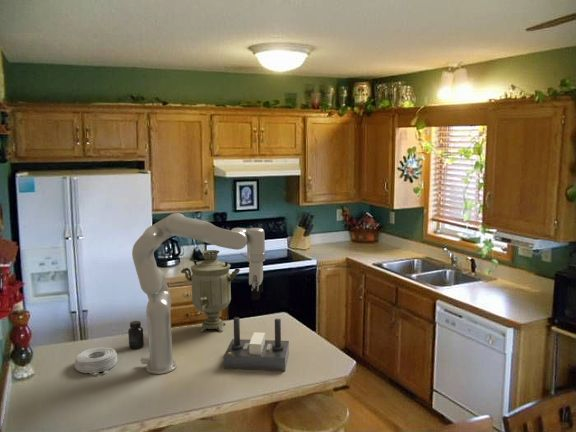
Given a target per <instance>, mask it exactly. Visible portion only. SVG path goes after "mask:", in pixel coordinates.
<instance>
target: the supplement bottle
mask: <svg viewBox="0 0 576 432" xmlns="http://www.w3.org/2000/svg"><path fill="white" fill-rule="evenodd" d="M127 335H128V347H129V349H130V350H140V349H142V348H144V346H145V337H144V335H145V334H144V328H143V327H142V323H141V321H140V320H133V321H131V322H129V328H128V330H127Z"/></svg>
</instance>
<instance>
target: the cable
mask: <svg viewBox="0 0 576 432" xmlns="http://www.w3.org/2000/svg"><path fill="white" fill-rule="evenodd" d="M117 362H118V354H117V351H116V349H114V348H110V347H107V346H106V347H101V346H100V347H99V346H98V347H93V348H87V349H86V350H83V351H82V352H80V353H78V354H77V355H76V357H75V361H74V365H73V366H74V368H75V369H76V371H78V372H80V373H83V374H87V373H90V374H89V375H91V374H92V376H96V375H97V376H98V375H100V373H101V372H102V376H104V375H105V374H107V373H108V372H109V371H110V370H109V369H112V368H113V367H114V366H116V364H117ZM108 370H109V371H108Z"/></svg>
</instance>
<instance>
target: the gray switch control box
mask: <svg viewBox="0 0 576 432" xmlns="http://www.w3.org/2000/svg"><path fill="white" fill-rule="evenodd" d="M250 341H251V339H241V338H240V343H242V344H243V348H242V349H238V350H235V349H232V344H233V343H234V338H232V339H231V341H230V342H229V345H228V347H227V349H226V351H225V353H224V354H223V367H224V368H223V370H243V371H245V370H247V371H271V372H272V371H273V372H276V371H277V372H285V371H286V369H287V364H288V361H289V355H290V341H289V340H281V344H282V345H283V350H281V351H275V350H273V349H272V346H273V345H274V344H275V339H274V340H270V339H268V340H267V339H265V348H264V351H263V354H262V355H252V354H249V343H250Z"/></svg>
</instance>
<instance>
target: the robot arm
mask: <svg viewBox="0 0 576 432" xmlns="http://www.w3.org/2000/svg"><path fill="white" fill-rule="evenodd" d="M174 236H175V237H180V238H182V239H183V238H185V239H189V240H195V241H199V242H203V243H206V244H210V245H214V246H217V247H220V248H225V249H229V250H230V249H231V250H237V251H238V250H243V249H244V248H246V249H247V250H246V251H247V252H246V255H247V257H246V258H247V261H246V262H248V263H249V264H248V285H249V286H251V300H253V301H255V300H256V301H257V300H260V293H261V294H262V293H263V291H264V289H263V280H264V263H263V262H265V261H266V248H265V247H266V246H265V244H266V242H265V230H264V229H263V228H261V227H250V228H244V227H233V228H232V229H231V230H230V229H225V228H222V227H219V226H216V225H214V224H213V223H211V222H210V221H207V220H202V219H197V218H192V217H187V216H185V215H184V214H183V213H180V212H173V213H171V214H169V215H168V216H166V217H165V218H162V219H161V220H159V221H157V222H156V223H154V224H152V225H150V226H149V227H147V228H146V229H145V230H144V231H143V233H142V235H140V236H139V237H138V239H137V240H136V241H135V242H134V244H133V246H132V250H131V252H132V253H131V255H132V260H133V265H134V268H135V271H136V274H137V279H138V282H139V285H140V286H139V287H140V288H141V290H142V291H143V293H144V294H146V295H147V299H148V302H147V304H146V314H145V315H146V323H147V332H148V333H147V335H148V353H149V355H148V357H140V359H139V361H140V363H141V364H142V365H144V364H146V366H145V367H146V368H145V369H146V372H148V373H150V374H155V375H162V374H167V373H171V372H173V371H174V370H175V369H176V368H177V362H176V361H175V360H173V340H172V339H173V338H172V320H171V306H172V296H171V292H170V289H169V285H168V282H167V279H166V276H165V274H164V272H163V270H162V269H160V268H159V267H158V265H157V260H156V258H155V254H154V253H155V252H156V251H157V250H158V249H159V248H160V247H161V246H162V244H163V243H164V242H165V241H166V240H169V239H170V238H172V237H174Z"/></svg>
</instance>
